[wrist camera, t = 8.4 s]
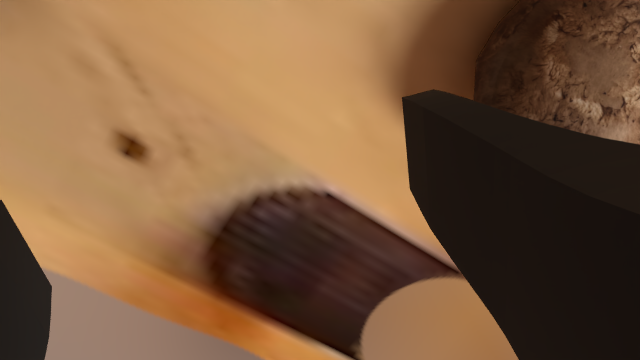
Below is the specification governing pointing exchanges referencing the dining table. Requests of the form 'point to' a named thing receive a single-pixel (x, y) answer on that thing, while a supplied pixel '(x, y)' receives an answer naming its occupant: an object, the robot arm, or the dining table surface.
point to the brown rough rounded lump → (567, 66)
